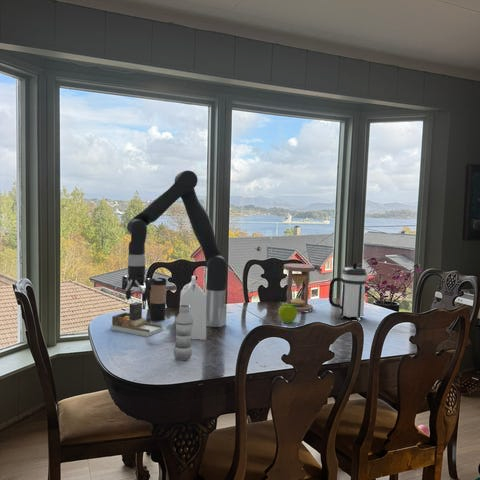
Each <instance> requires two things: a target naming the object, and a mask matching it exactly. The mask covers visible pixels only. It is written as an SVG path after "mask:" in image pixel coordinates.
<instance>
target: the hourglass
mask: <svg viewBox="0 0 480 480" xmlns="http://www.w3.org/2000/svg"><path fill="white" fill-rule="evenodd" d="M283 269H284V270H286V271H287V273H288V274H287V281H286V284H287V290H286V302H285V303H286V304H290V305H291V304H297V305H294V306H295V308H296V309H297V312H304V311H310V310H312V309H313V310H314V307H313V305H312V304H308V301H309V294H310V291H309V284H310V273H311V272H314V271H316V266H315V265H312V264H305V263H285V264H283ZM293 272H298V273H293ZM299 272H300V273H299ZM301 272H302V273H301ZM293 282H294V284H295V285H296V289H298V290H299V289H300V288H301V285H302V284H303V283H304V289H303V299H301V298H299V297H295V298H293V299H292V296H293V292H292V286H293ZM281 305H284V304H283V303H281ZM313 310H312V311H313Z"/></svg>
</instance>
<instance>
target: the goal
mask: <svg viewBox="0 0 480 480" xmlns="http://www.w3.org/2000/svg"><path fill="white" fill-rule="evenodd" d="M125 316H129V312H122V313H118V314H115V315H112V318H111V319H112V320H111V322H112V323H111V326H112V325H115V326H120V327H121V325H123V318H124V317H125Z"/></svg>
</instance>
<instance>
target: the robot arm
mask: <svg viewBox="0 0 480 480" xmlns="http://www.w3.org/2000/svg"><path fill="white" fill-rule="evenodd" d="M197 185H198V175H197V173H195V172H194V171H192V170H183V171H181V172H179V173H177V175H176V176H175V178H174V182H173V184H172V185H171V186H170V187H169V188H168V189H166V190H165V192H163V193H162V194H160V195H158V197H157V198H155V199H154V200H153V201H152V202H151V203H149V204H148V205H147V206H146V207H145V209H144V210H142V211H141V212H140V213H137V215H135V216H134V217H132V218H131V219H130V220H128V221H129V222H128V223H127V225H126V229H127V232H129V234H131V236H130V241H129V242H128V256H127V274H128V275H123V276H122V279H121V281H122V283H121V289H122V290H124V291H125V298H126V300H128V301H129V300H131V299H132V288H134V287H135V288H139V289H140V290H141V292H142V293H141V301H142V303H143V302H146V301H147V300H148V293H149V292H150V291H151V279H152V278H150V277H149V278H146V277H145V275H146V256H145V255H146V253H145V250H146V247H145V246H146V245H145V244H146V239H147V234H148V233H147V232H148V227H147V226H149V225H151V223H154V222H156V221H157V220H158V219H159V218H160V217H161V216H162V215H163V214H164V213H165V212H166V211H167V210H168V209H169V208H170V207H171V206H172V205H174V203H175V202H177V201H178V200H179V199H180V198H181V201H182V203H183V205H184V208H185V212H186V214H187V217H188V219H189V220H188V221H189V222H190V225H191V228H192V231H193V233H194V236H195V237H196V239H197V241H198V244H199V246H200V247H201V250H202V252H203V256H204V260H205V263H206V269H207V275H206V286H205V288H206V289H205V295H206V327H209V328H212V327H213V328H221V327H223V326H226V324H227V306H228V305H226V288H227V286H226V285H227V280H228V279H227V278H228V263H227V261H226V259H225V258H224V257H223V255H222V253H221V251H220V249H219V247H218V244H217V241H216V234H215V232H214V231H215V230H214V227H213V224H212V221H211V219H210V215H209V213H208V212H207V210H206V209H205V207H204V206H203V204H202V203H201V202H200V200H199V199H198V195H197V194H196V193H197V192H196V189H195V188H196V186H197Z"/></svg>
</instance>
